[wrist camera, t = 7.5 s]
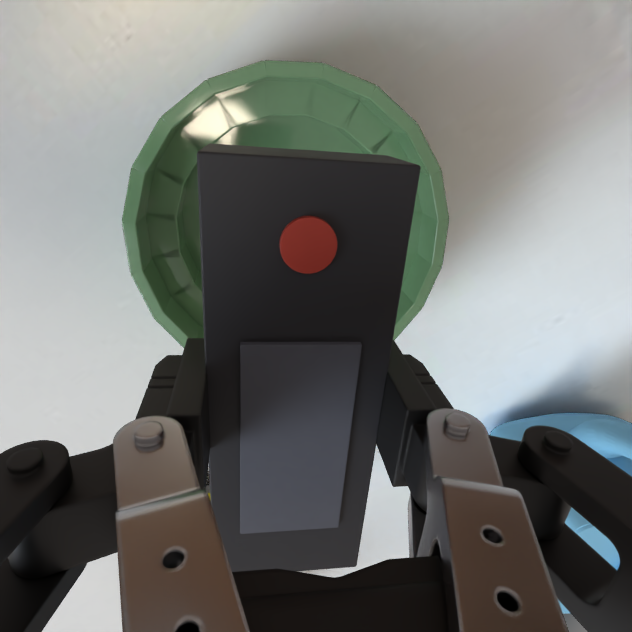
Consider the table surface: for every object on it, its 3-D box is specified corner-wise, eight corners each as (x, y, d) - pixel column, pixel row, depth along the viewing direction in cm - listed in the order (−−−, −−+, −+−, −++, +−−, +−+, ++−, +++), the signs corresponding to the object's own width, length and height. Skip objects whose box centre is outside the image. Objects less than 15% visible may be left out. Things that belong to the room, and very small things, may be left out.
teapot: (645, 343, 33) (828, 448, 22) (578, 515, 40) (692, 653, 30) (491, 350, 31) (612, 467, 21) (451, 528, 38) (525, 680, 28)
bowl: (84, 192, 23) (44, 211, 18) (319, 1, 21) (338, -29, 16) (261, 379, 29) (264, 427, 25) (455, 247, 27) (496, 273, 23)
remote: (207, 143, 10) (195, 151, 8) (387, 155, 11) (424, 166, 9) (218, 512, 15) (212, 583, 13) (342, 505, 16) (357, 571, 14)
